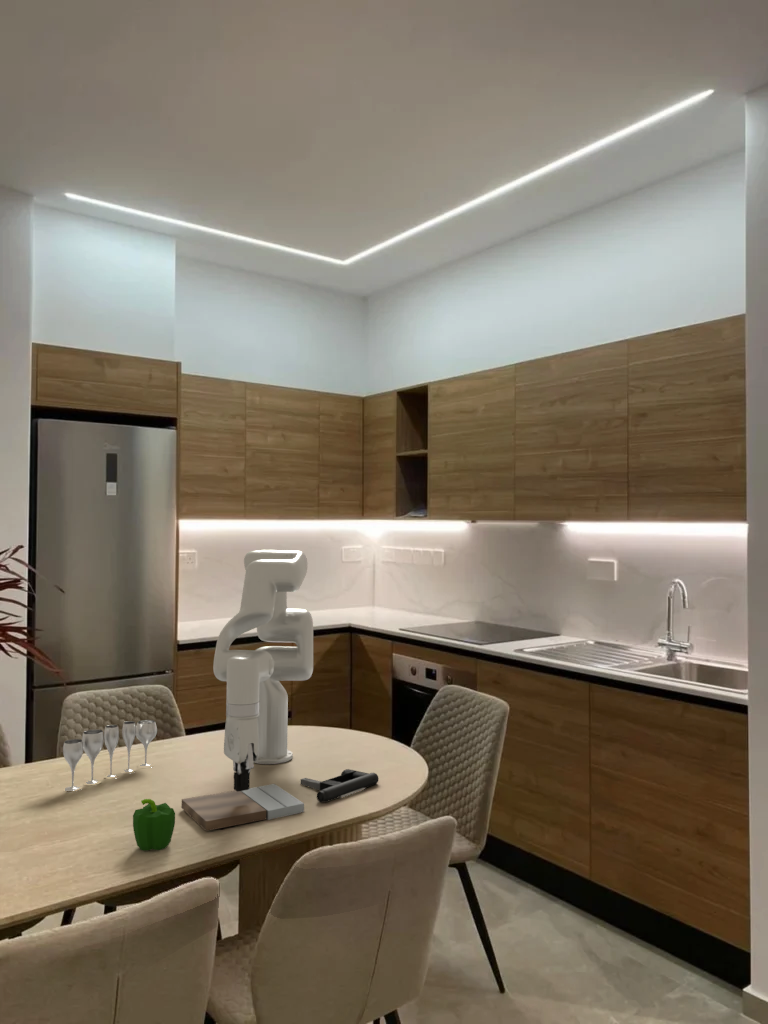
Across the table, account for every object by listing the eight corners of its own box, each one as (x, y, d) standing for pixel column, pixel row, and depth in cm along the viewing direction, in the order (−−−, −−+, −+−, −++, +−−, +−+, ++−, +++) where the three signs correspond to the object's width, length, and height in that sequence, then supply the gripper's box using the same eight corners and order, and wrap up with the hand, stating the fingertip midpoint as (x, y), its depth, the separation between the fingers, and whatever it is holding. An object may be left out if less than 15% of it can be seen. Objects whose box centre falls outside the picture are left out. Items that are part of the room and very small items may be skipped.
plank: (181, 807, 180) (181, 799, 180) (238, 798, 188) (238, 789, 188) (205, 830, 167) (206, 821, 167) (265, 819, 175) (266, 810, 175)
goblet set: (71, 794, 191) (72, 740, 191) (57, 789, 194) (57, 736, 194) (161, 765, 214) (161, 716, 214) (146, 761, 217) (147, 713, 217)
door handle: (282, 781, 195) (327, 792, 184) (339, 763, 210) (383, 773, 199) (283, 795, 195) (327, 806, 184) (339, 776, 210) (384, 786, 199)
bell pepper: (177, 838, 164) (178, 790, 165) (171, 854, 156) (172, 804, 157) (136, 839, 163) (137, 791, 164) (128, 856, 155) (129, 805, 156)
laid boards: (240, 798, 188) (240, 789, 188) (274, 791, 193) (274, 783, 193) (268, 819, 175) (268, 810, 175) (303, 811, 180) (303, 802, 180)
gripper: (215, 705, 185) (214, 783, 184) (240, 718, 172) (239, 802, 171) (245, 702, 189) (243, 778, 188) (271, 714, 176) (270, 796, 176)
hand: (241, 789), depth 180 cm, fingers closed
